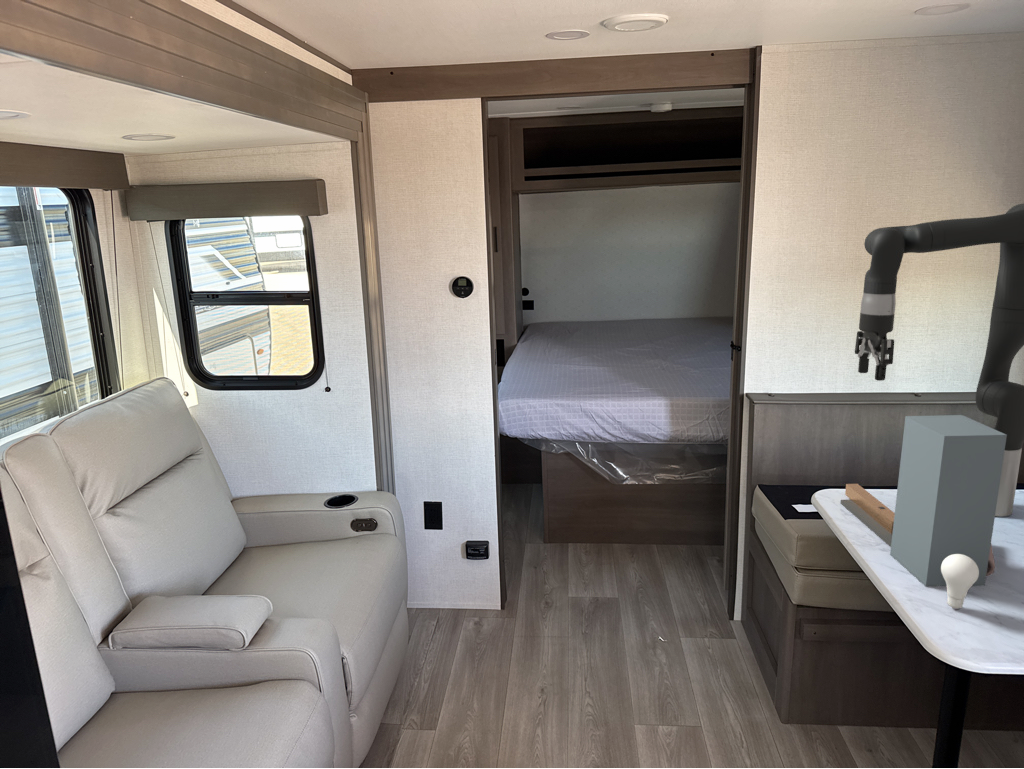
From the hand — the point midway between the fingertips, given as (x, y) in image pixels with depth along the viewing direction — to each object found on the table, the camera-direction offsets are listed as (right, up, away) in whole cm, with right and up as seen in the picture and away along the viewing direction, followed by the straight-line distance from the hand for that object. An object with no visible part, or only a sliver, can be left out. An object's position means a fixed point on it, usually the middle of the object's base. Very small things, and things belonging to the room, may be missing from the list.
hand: (871, 376), depth 179 cm
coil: (+12, -41, -22) cm, 48 cm away
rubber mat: (0, -36, -4) cm, 36 cm away
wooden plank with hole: (0, -34, 0) cm, 34 cm away
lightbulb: (-5, -45, -41) cm, 61 cm away
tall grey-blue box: (0, -41, -26) cm, 49 cm away
